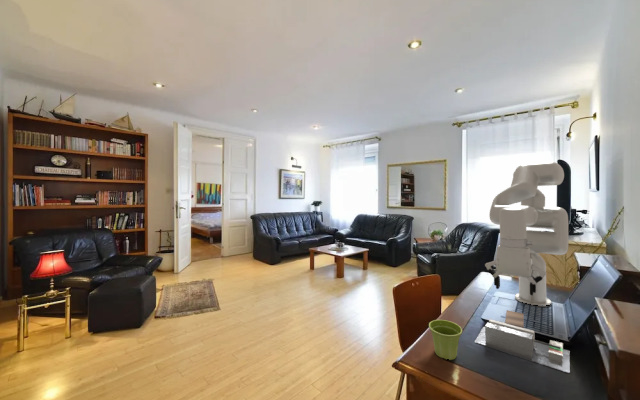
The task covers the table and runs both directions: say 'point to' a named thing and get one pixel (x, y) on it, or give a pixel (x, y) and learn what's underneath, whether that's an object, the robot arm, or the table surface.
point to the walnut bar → (515, 318)
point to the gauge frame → (524, 346)
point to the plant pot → (445, 338)
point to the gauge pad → (521, 331)
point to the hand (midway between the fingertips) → (514, 290)
